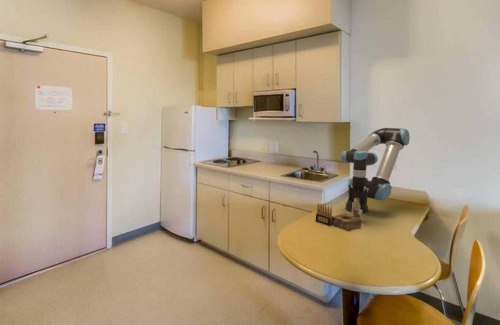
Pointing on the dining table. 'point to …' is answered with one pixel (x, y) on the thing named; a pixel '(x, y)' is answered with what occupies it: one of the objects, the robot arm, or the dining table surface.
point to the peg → (356, 207)
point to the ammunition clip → (324, 215)
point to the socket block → (346, 222)
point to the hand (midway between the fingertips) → (356, 213)
